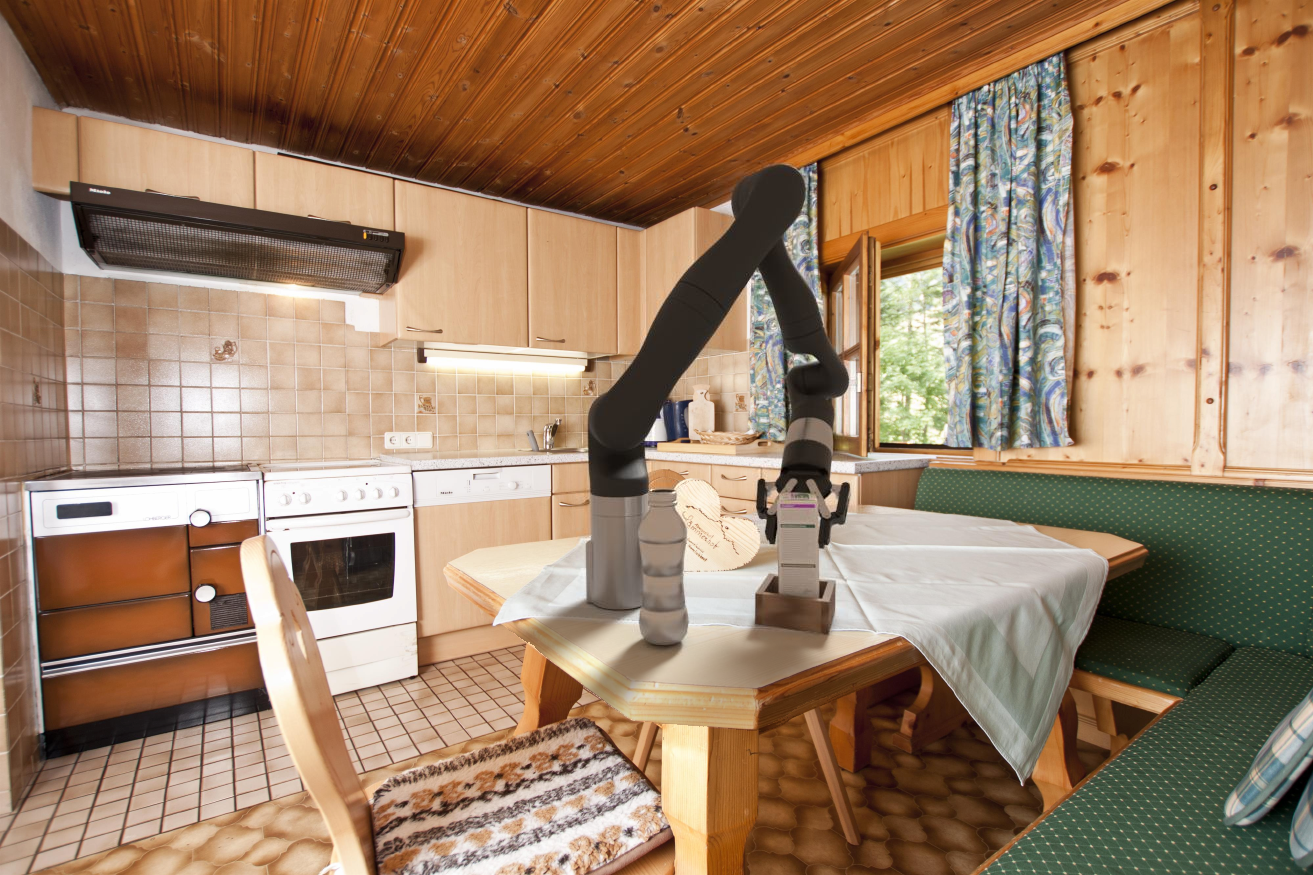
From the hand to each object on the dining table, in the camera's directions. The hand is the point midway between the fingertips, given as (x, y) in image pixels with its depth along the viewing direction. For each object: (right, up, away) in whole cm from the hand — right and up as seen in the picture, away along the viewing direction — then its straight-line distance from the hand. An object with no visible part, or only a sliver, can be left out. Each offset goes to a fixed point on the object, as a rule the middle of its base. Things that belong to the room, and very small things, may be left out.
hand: (796, 543), depth 82 cm
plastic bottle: (-19, -12, -6) cm, 23 cm away
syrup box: (+1, -8, +2) cm, 8 cm away
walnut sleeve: (+1, -11, +2) cm, 11 cm away
